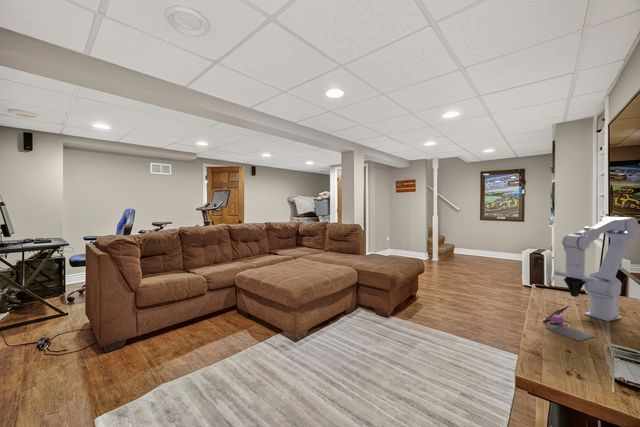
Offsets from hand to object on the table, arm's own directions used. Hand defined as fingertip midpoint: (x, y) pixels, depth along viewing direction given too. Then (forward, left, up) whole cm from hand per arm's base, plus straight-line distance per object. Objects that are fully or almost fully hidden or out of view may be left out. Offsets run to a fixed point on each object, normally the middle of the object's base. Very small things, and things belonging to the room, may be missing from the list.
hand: (574, 296), depth 112 cm
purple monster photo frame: (+6, 0, -8) cm, 10 cm away
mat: (+13, +6, -10) cm, 18 cm away
